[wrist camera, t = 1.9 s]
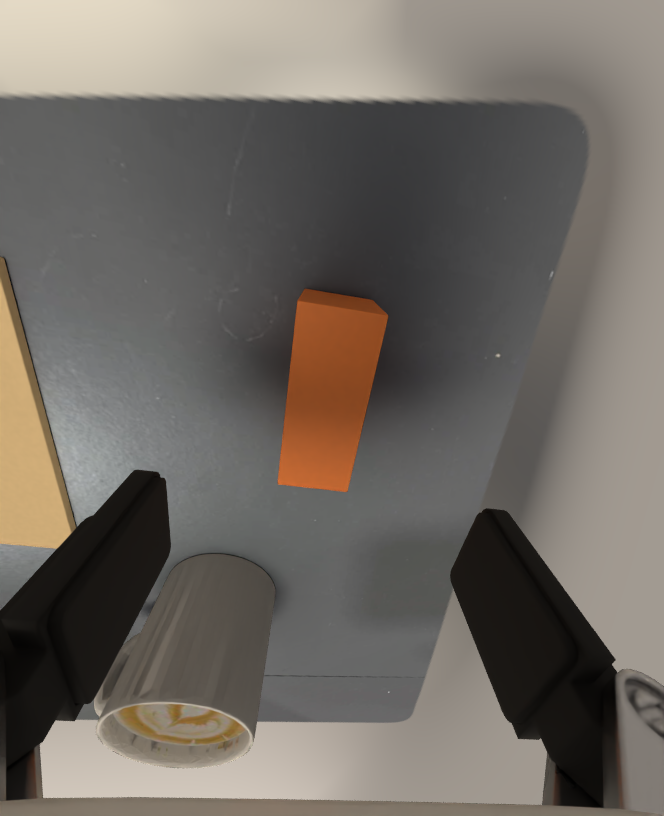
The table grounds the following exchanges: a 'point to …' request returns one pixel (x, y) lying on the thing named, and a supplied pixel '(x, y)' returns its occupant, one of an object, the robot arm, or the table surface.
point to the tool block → (329, 387)
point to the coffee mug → (192, 668)
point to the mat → (26, 444)
